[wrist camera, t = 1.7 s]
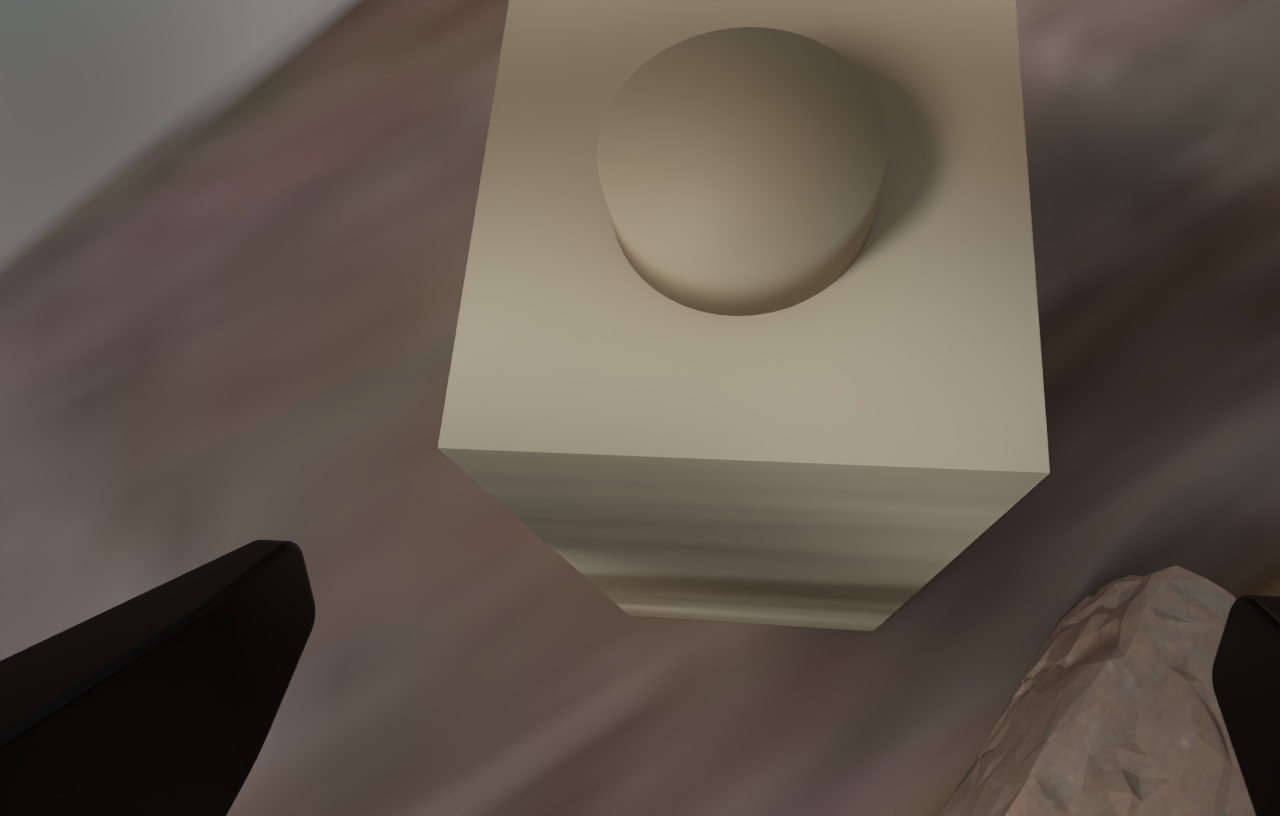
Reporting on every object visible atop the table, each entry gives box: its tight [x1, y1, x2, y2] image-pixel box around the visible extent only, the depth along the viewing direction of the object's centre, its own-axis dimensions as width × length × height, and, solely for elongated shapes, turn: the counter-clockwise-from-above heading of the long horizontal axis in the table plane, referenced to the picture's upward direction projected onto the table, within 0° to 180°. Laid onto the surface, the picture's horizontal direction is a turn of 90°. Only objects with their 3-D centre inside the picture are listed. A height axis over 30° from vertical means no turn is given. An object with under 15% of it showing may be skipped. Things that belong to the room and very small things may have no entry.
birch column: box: [438, 0, 1050, 632], centre depth 13 cm, size 5×5×13 cm
